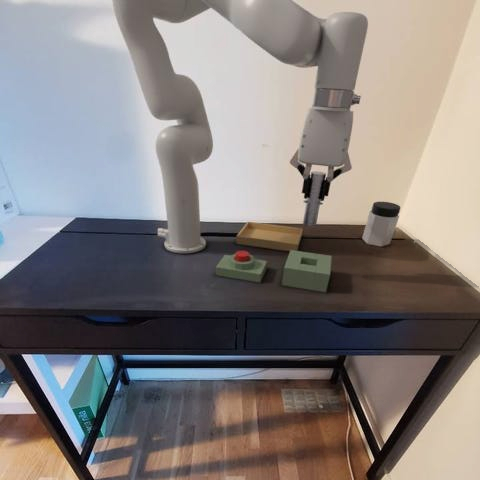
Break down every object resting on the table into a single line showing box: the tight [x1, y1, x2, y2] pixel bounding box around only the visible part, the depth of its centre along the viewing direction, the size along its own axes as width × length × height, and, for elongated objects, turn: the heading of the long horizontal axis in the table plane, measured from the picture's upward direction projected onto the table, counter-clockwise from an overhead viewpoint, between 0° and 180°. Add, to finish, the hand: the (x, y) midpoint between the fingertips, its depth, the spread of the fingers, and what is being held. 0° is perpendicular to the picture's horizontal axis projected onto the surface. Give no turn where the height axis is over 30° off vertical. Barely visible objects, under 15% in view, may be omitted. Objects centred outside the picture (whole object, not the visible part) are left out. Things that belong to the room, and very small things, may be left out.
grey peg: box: [302, 170, 327, 227], centre depth 72 cm, size 4×4×12 cm
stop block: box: [215, 253, 268, 283], centre depth 83 cm, size 12×8×4 cm, turn 75°
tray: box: [235, 221, 304, 252], centre depth 102 cm, size 19×14×3 cm
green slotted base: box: [281, 250, 333, 293], centre depth 81 cm, size 11×11×5 cm
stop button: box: [234, 250, 250, 262], centre depth 81 cm, size 4×4×2 cm
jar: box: [361, 201, 401, 248], centre depth 101 cm, size 9×8×12 cm
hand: (314, 197), depth 72 cm, fingers closed on grey peg, 3 cm apart
